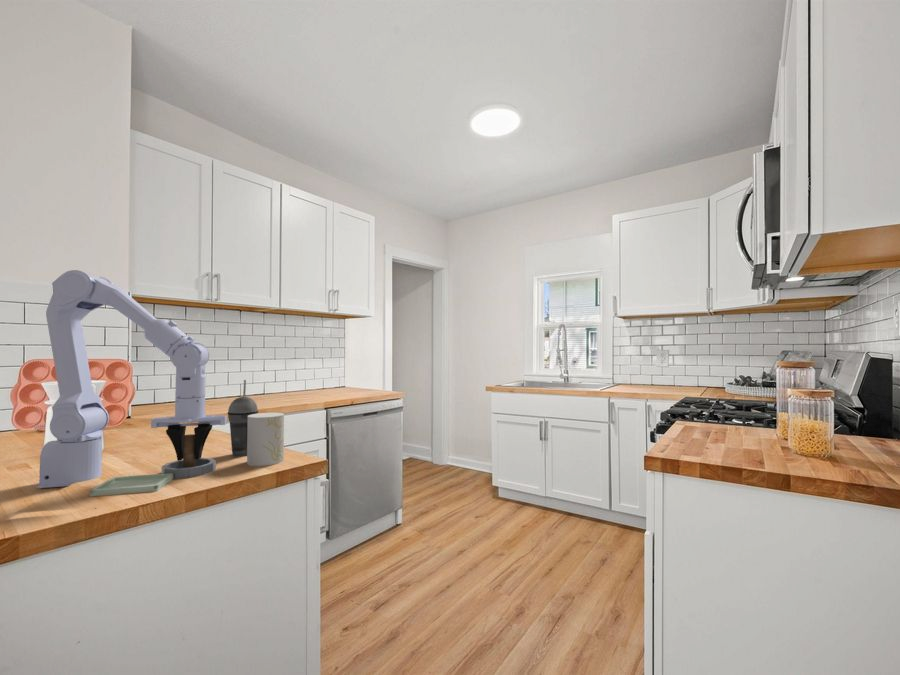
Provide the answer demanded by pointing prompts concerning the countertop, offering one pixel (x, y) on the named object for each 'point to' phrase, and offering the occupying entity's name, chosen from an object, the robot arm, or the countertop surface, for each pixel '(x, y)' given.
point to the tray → (132, 484)
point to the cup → (265, 439)
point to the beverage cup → (240, 422)
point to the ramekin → (177, 468)
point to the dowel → (189, 451)
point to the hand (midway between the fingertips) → (189, 458)
